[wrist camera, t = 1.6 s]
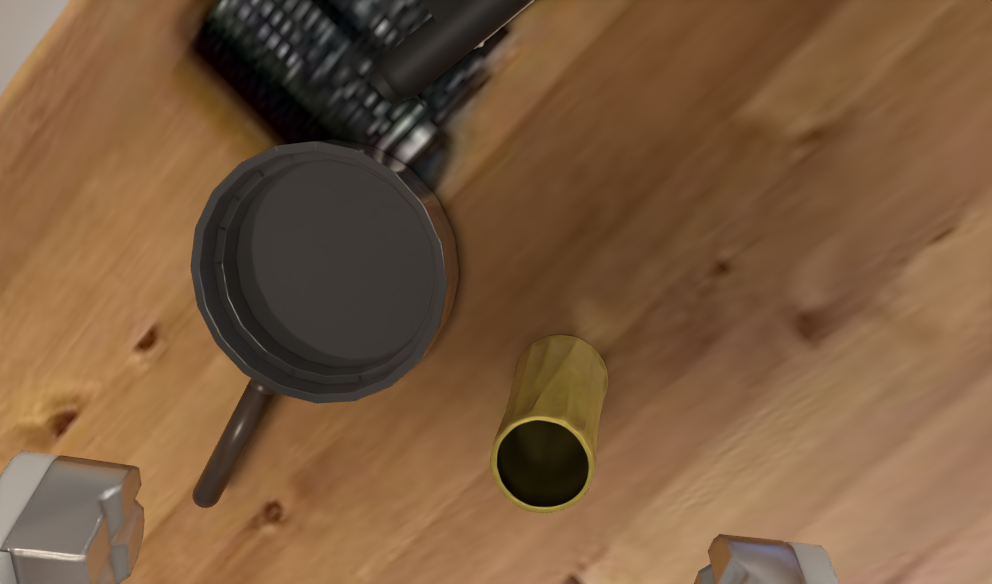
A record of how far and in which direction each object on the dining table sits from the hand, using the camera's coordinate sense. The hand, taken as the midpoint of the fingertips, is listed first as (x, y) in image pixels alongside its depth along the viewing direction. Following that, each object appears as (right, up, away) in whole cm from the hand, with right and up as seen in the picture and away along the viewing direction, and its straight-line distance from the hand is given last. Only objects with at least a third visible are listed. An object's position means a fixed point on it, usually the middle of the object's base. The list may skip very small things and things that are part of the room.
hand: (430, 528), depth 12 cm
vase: (+5, -2, +44) cm, 45 cm away
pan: (-9, +5, +45) cm, 46 cm away
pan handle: (-16, -6, +46) cm, 49 cm away
